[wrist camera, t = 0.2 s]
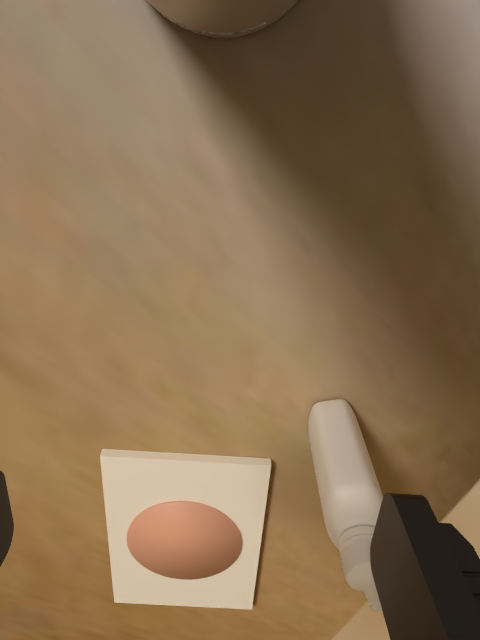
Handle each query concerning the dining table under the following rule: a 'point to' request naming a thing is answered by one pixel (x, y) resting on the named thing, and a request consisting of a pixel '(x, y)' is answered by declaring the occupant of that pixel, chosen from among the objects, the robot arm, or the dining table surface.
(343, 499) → the eye dropper bottle
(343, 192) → the dining table surface
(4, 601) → the dining table surface
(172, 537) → the card
